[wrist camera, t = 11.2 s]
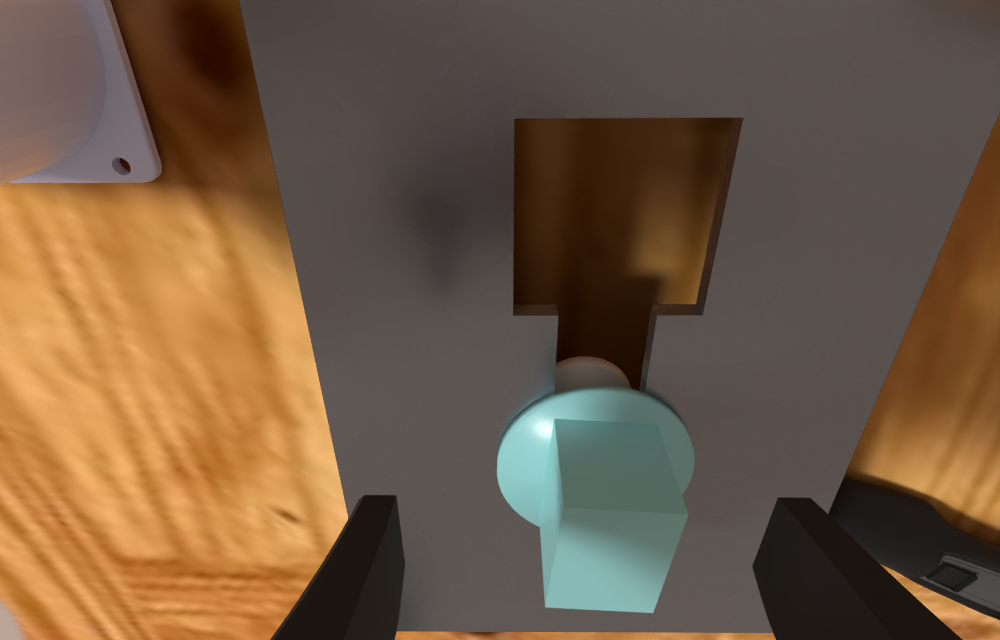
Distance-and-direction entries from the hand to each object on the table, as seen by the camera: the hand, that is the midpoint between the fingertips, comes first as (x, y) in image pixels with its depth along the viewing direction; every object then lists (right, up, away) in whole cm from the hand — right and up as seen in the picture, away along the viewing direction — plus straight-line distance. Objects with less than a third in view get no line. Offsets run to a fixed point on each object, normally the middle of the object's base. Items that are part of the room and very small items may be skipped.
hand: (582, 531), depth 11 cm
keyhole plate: (+1, +3, +9) cm, 10 cm away
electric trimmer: (+17, -5, +15) cm, 23 cm away
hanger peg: (+1, +1, +9) cm, 10 cm away
